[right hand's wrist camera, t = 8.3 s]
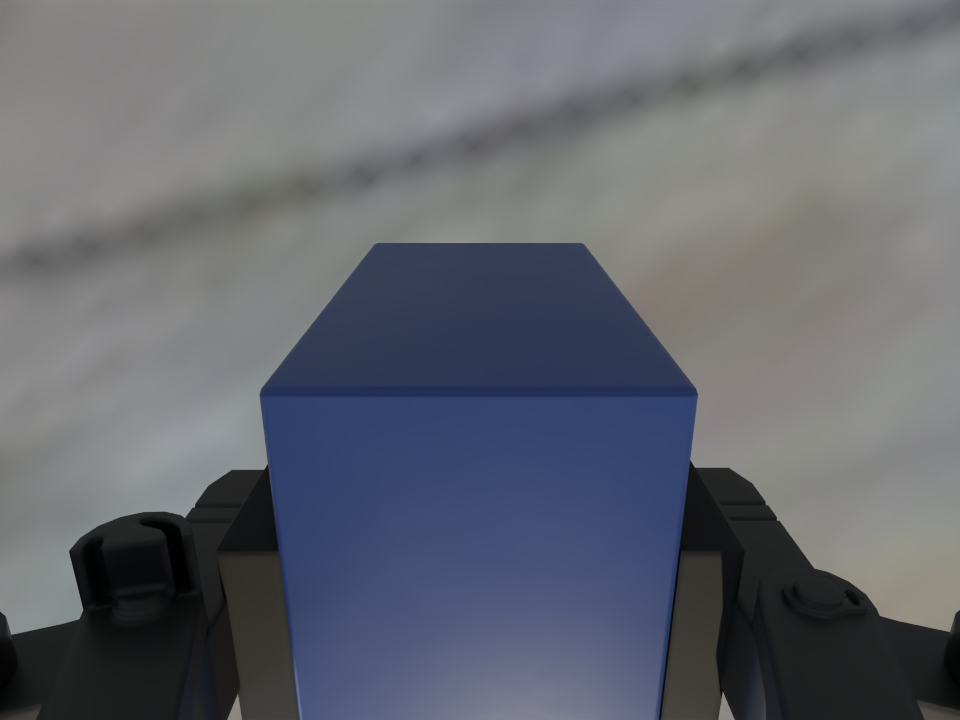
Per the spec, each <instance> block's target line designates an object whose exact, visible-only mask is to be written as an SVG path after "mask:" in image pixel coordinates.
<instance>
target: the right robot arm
mask: <svg viewBox="0 0 960 720" xmlns="http://www.w3.org/2000/svg"><path fill="white" fill-rule="evenodd" d="M69 553H70V557H71V561H72V565H73V569H74V573H75V577H76V581H77V586H78V590H79V594H80V598H81V602H82V606H83V612H82V615H81V617H80V619H79V620H75V621H72V622H68V623H65V624H61V625H56V626H51V627H47V628H42V629H37V630H32V631H28V632H23V633H18V634H14V635H11V632H10V629H9V626H8V622H7V619H6V616H5V615H3V614H2V613H1V612H0V720H227V719H228V716H229V714H230V711H231V709H232V707H233V704H234V702H235V699H236V697H237V694H238V696H239V702H240V708H241V715H242V720H299V713H298V705H297V697H296V688H295V680H294V672H293V664H292V655H291V647H290V639H289V631H288V622H287V614H286V606H285V597H284V589H283V581H282V573H281V564H280V556H279V549H278V542H277V534H276V526H275V517H274V509H273V501H272V492H271V484H270V476H269V468H268V465H267V466H266V468H265V470H231V471H230V472H228V473H227V474H225V475H224V476H222V477H221V478H219V479H218V480H216V481H215V482H213V483H212V484H210V485H209V486H208V487H207V489H206V490H205V491H204V493H203V494H202V495H201V497H200V498H199V500H198V501H197V502H196V504H195V508H192V509H191V511H190V512H189V513H188V515H187V516H186V518H184V517H182V516H181V515H177V514H173V513H168V512H143V513H138V514H133V515H128V516H124V517H120V518H117V519H115V520H112V521H110V522H107V523H105V524H102V525H100V526H98V527H96V528H95V529H93V530H92V531H90V532H89V533H87V534H86V535H84V536H82V537H81V538H80V539H79V540H78V541H77V542H76V544H75V545H74V546H73V547H72V548H71V549H70V551H69ZM722 692H724V695H725V697H726V700H727V702H728V704H729V707H730V709H731V712H732V714H733V716H734V719H735V720H960V610H959V611H958V612H957V613H956V614H955V618H954V621H953V624H952V628H951V631H950V632H947V631H942V630H937V629H932V628H928V627H923V626H918V625H914V624H909V623H904V622H899V621H896V620H892V619H888V618H885V617H881V616H879V613H878V611H877V609H876V608H875V606H874V605H873V604H872V602H871V601H870V599H869V598H868V597H867V595H866V594H865V593H863V592H862V591H860V590H859V589H858V588H856V587H855V586H854V585H852V584H851V583H850V582H848V581H846V580H844V579H842V578H840V577H837V576H835V575H833V574H831V573H829V572H826V571H821V570H817V569H814V568H813V566H812V565H811V564H810V562H809V561H808V559H807V558H806V557H805V555H804V554H803V553H802V551H801V550H800V548H799V547H798V546H797V544H796V543H795V542H794V540H793V539H792V537H791V536H790V535H789V533H788V532H787V531H786V529H785V528H784V526H783V525H782V524H781V522H780V521H777V517H776V515H775V514H774V513H773V511H772V510H771V509H770V507H769V506H768V505H766V502H765V500H764V499H763V498H762V496H761V495H760V493H759V492H758V491H757V489H756V488H755V487H754V485H753V484H752V483H751V482H749V481H748V480H746V479H745V478H743V477H742V476H740V475H739V474H737V473H736V472H734V471H733V470H731V469H730V468H695V467H694V466H693V464H692V462H691V461H690V465H689V473H688V481H687V490H686V498H685V506H684V515H683V523H682V531H681V540H680V548H679V556H678V565H677V573H676V582H675V590H674V598H673V607H672V615H671V623H670V632H669V640H668V648H667V657H666V665H665V673H664V682H663V690H662V698H661V707H660V715H659V720H718V717H719V711H720V705H721V699H722Z"/></svg>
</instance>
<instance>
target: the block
mask: <svg viewBox="0 0 960 720" xmlns="http://www.w3.org/2000/svg"><path fill="white" fill-rule="evenodd" d="M697 398H698V393H697V390H696V388H695V387H694V386H693V384H692V383H691V382H690V380H689V379H688V378H687V376H686V375H685V374H684V373H683V371H682V370H681V369H680V367H679V366H678V365H677V364H676V362H675V361H674V360H673V358H672V357H671V356H670V355H669V353H668V352H667V351H666V349H665V348H664V347H663V346H662V344H661V343H660V342H659V340H658V339H657V338H656V337H655V335H654V334H653V333H652V331H651V330H650V329H649V327H648V326H647V325H646V324H645V322H644V321H643V320H642V318H641V317H640V316H639V315H638V313H637V312H636V311H635V309H634V308H633V307H632V306H631V304H630V303H629V302H628V300H627V299H626V298H625V297H624V295H623V294H622V293H621V291H620V290H619V289H618V288H617V286H616V285H615V284H614V282H613V281H612V280H611V278H610V277H609V276H608V275H607V273H606V272H605V271H604V269H603V268H602V267H601V266H600V264H599V263H598V262H597V260H596V259H595V258H594V257H593V255H592V254H591V253H590V251H589V250H588V249H587V248H586V246H585V245H584V244H582V243H377V244H375V245H374V246H373V247H372V249H371V250H370V251H369V252H368V254H367V255H366V256H365V257H364V259H363V260H362V261H361V263H360V264H359V265H358V266H357V268H356V269H355V270H354V271H353V273H352V274H351V275H350V277H349V278H348V279H347V280H346V282H345V283H344V284H343V285H342V287H341V288H340V289H339V291H338V292H337V293H336V294H335V296H334V297H333V298H332V300H331V301H330V302H329V303H328V305H327V306H326V307H325V308H324V310H323V311H322V312H321V314H320V315H319V316H318V317H317V319H316V320H315V321H314V322H313V324H312V325H311V326H310V328H309V329H308V330H307V331H306V333H305V334H304V335H303V336H302V338H301V339H300V340H299V342H298V343H297V344H296V345H295V347H294V348H293V349H292V351H291V352H290V353H289V354H288V356H287V357H286V358H285V359H284V361H283V362H282V363H281V365H280V366H279V367H278V368H277V370H276V371H275V372H274V373H273V375H272V376H271V377H270V379H269V380H268V381H267V382H266V384H265V385H264V386H263V387H262V389H261V392H260V402H261V410H262V418H263V426H264V435H265V443H266V451H267V459H268V468H269V476H270V484H271V492H272V501H273V509H274V517H275V526H276V534H277V542H278V549H279V556H280V564H281V573H282V581H283V589H284V597H285V606H286V614H287V622H288V631H289V639H290V647H291V655H292V664H293V672H294V680H295V688H296V697H297V705H298V713H299V720H659V715H660V707H661V698H662V690H663V682H664V673H665V665H666V657H667V648H668V640H669V632H670V623H671V615H672V607H673V598H674V590H675V582H676V573H677V565H678V556H679V548H680V540H681V531H682V523H683V515H684V506H685V498H686V490H687V481H688V473H689V465H690V456H691V448H692V439H693V431H694V423H695V414H696V406H697Z"/></svg>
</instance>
